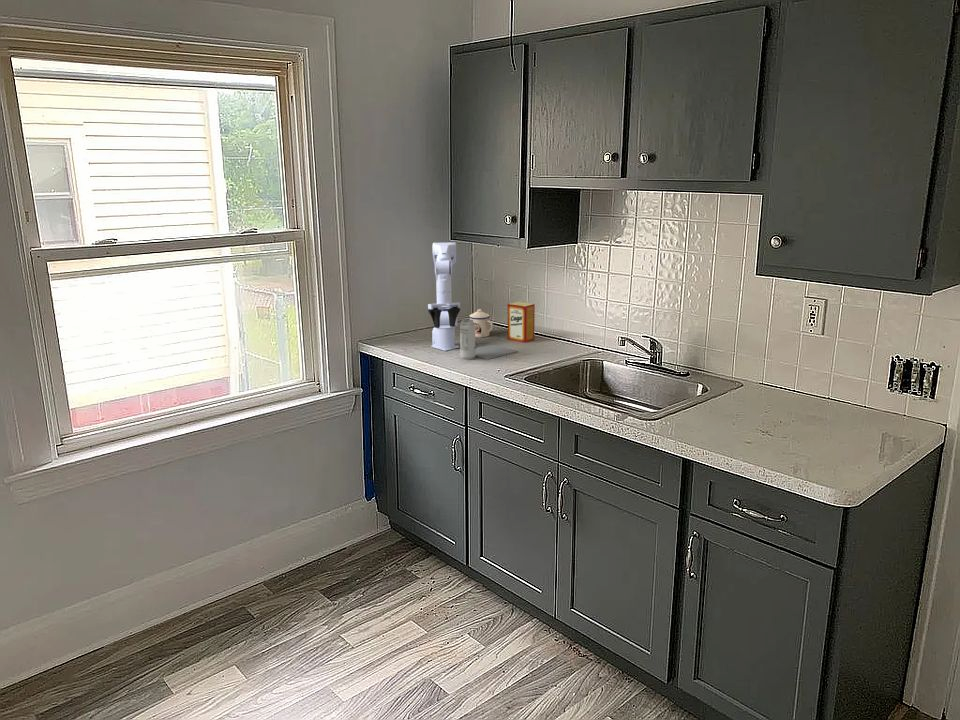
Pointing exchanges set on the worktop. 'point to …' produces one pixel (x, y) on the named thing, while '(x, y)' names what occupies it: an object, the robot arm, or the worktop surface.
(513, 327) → the baking soda box
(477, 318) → the teacup with lid
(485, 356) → the mat
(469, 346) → the energy drink can
